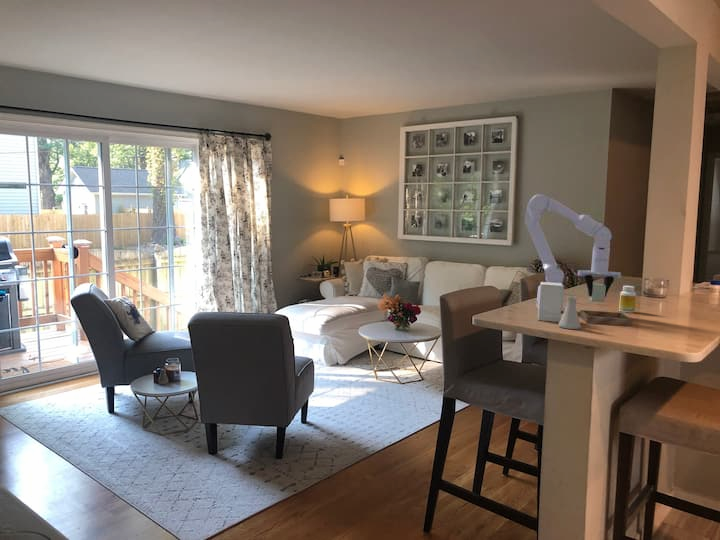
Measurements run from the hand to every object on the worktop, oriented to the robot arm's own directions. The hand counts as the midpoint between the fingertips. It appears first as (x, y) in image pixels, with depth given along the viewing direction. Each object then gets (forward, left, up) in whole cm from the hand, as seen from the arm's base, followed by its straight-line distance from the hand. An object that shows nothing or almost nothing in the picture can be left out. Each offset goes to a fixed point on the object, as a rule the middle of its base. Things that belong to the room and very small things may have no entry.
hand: (597, 296), depth 209 cm
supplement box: (-19, -17, -7) cm, 26 cm away
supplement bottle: (+13, +9, -7) cm, 17 cm away
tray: (0, -13, -6) cm, 15 cm away
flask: (-14, -28, -7) cm, 32 cm away
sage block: (0, 0, -2) cm, 2 cm away
